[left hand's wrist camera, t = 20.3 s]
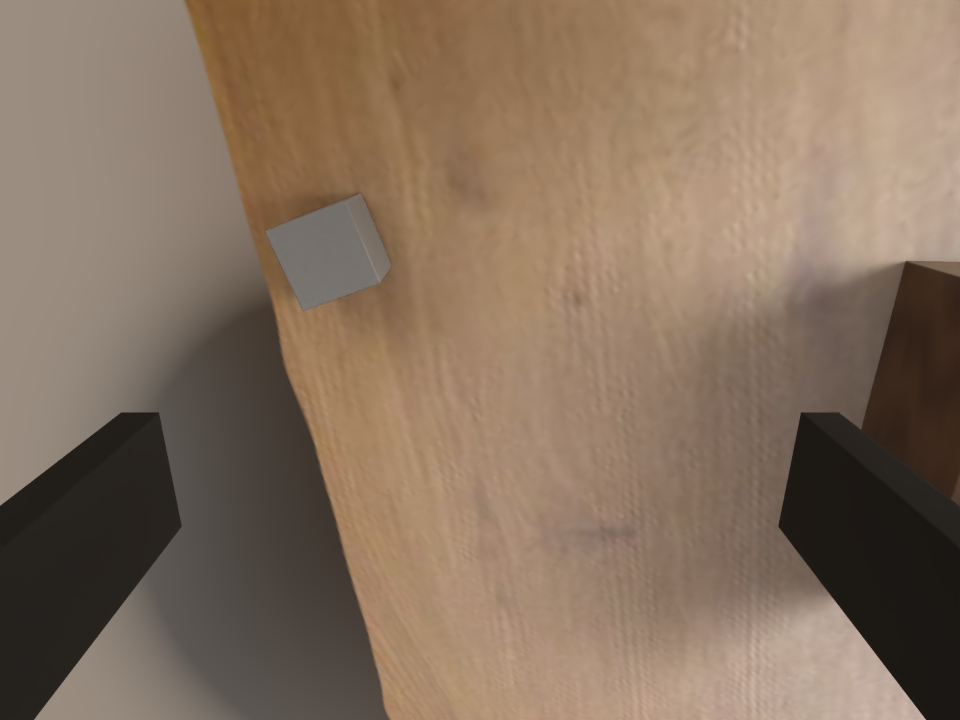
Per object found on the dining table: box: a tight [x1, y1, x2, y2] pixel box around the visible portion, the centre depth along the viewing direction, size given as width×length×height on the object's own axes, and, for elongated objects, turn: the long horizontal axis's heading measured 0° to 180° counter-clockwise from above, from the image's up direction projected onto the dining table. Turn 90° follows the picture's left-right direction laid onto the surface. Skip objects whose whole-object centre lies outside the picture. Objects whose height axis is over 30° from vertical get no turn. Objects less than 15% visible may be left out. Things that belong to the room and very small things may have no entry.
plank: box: [862, 261, 960, 506], centre depth 40 cm, size 26×4×9 cm, turn 179°
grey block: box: [265, 193, 392, 311], centre depth 37 cm, size 5×5×5 cm
